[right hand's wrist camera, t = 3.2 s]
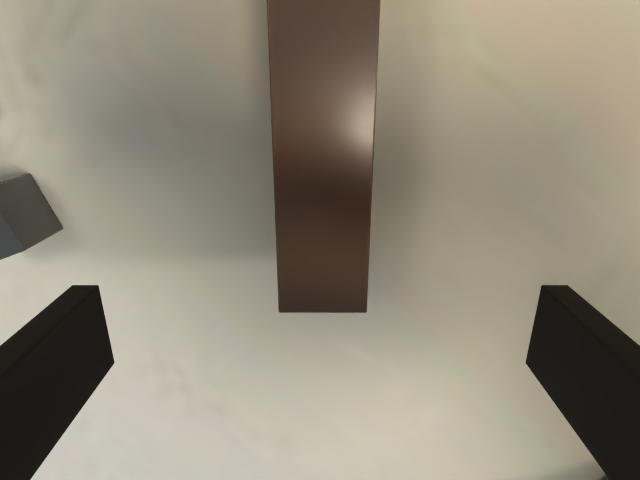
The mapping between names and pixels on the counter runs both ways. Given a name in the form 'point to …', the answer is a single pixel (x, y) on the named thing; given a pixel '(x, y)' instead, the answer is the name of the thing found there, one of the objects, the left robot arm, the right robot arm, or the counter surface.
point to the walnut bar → (323, 149)
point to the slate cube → (24, 216)
